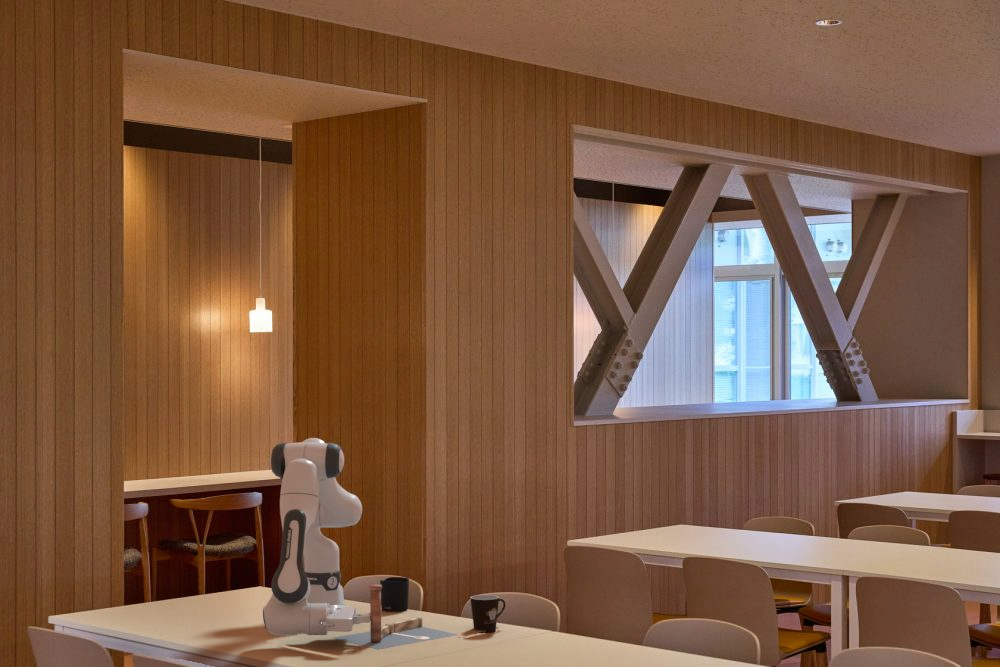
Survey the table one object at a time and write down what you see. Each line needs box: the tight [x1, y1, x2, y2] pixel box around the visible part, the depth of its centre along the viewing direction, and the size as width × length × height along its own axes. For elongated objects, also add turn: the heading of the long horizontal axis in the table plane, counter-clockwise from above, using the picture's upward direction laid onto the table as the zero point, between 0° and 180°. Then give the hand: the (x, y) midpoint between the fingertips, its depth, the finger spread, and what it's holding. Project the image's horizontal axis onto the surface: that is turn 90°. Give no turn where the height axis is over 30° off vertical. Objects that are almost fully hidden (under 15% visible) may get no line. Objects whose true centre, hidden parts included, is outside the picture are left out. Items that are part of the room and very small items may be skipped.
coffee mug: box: [469, 594, 506, 634], centre depth 372 cm, size 12×9×10 cm
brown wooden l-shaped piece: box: [368, 584, 389, 642], centre depth 357 cm, size 13×4×16 cm, turn 168°
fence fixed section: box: [384, 617, 423, 634], centre depth 370 cm, size 15×3×2 cm, turn 140°
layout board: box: [333, 626, 459, 650], centre depth 361 cm, size 22×29×1 cm
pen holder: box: [379, 576, 410, 613], centre depth 408 cm, size 9×9×10 cm
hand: (370, 618), depth 352 cm, fingers closed
